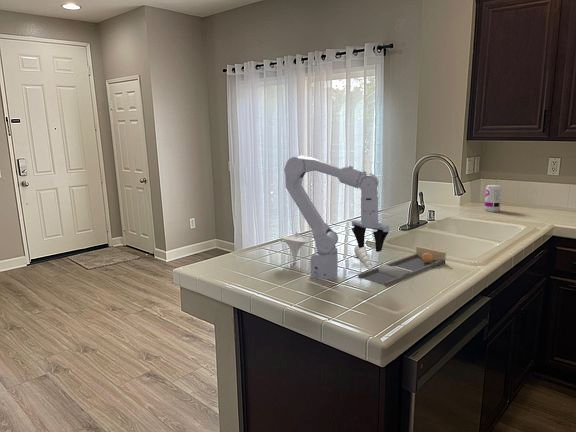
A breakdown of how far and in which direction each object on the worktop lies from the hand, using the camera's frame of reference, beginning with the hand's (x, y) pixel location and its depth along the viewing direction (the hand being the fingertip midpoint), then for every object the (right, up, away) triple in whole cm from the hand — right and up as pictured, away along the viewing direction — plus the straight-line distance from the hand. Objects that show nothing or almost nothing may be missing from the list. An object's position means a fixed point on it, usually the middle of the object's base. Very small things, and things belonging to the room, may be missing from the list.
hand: (369, 249), depth 151 cm
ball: (+24, -4, +12) cm, 27 cm away
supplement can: (+92, +14, +108) cm, 143 cm away
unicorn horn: (+2, -7, +19) cm, 21 cm away
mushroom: (-25, -7, +22) cm, 35 cm away
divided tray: (+14, -12, +9) cm, 21 cm away
